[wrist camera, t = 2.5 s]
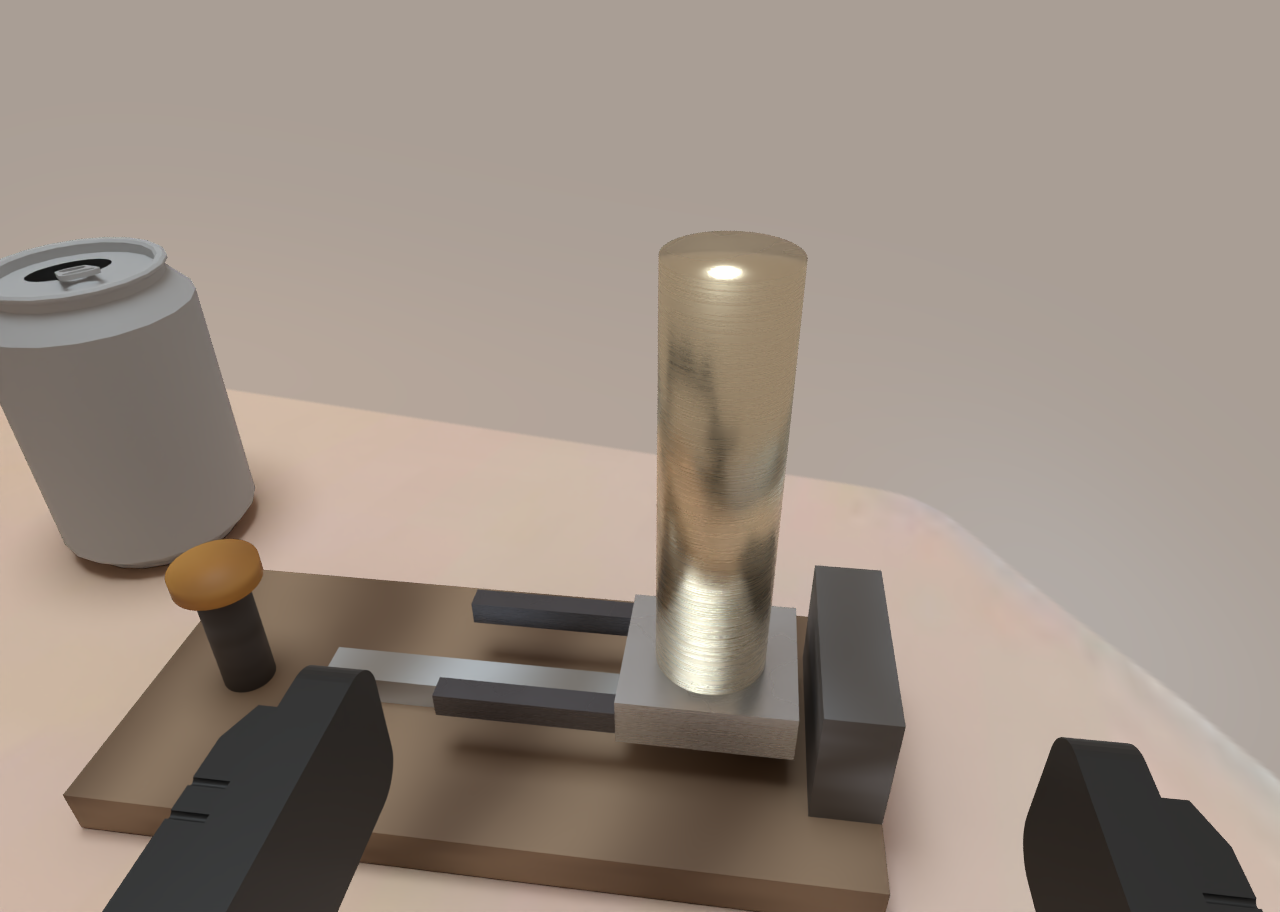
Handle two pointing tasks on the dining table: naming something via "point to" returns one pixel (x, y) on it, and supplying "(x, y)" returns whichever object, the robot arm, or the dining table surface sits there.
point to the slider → (693, 527)
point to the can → (119, 400)
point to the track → (532, 742)
